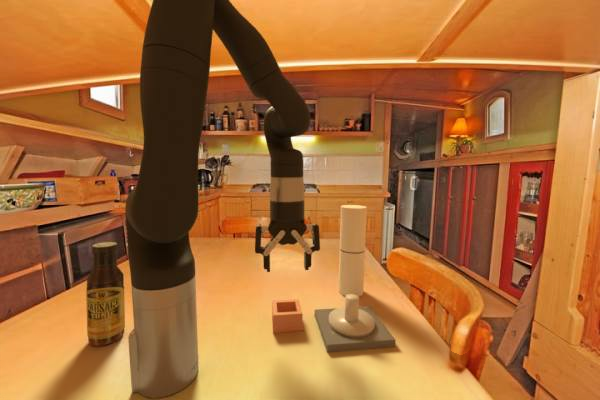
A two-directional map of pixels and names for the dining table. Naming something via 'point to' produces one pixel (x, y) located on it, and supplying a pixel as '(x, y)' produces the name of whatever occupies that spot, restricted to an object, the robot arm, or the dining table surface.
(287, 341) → the dining table surface
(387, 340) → the post plate
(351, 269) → the cylindrical container
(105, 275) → the sauce bottle
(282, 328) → the collar
